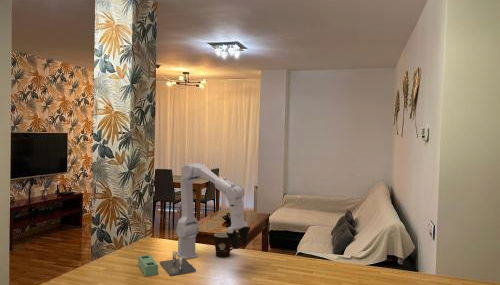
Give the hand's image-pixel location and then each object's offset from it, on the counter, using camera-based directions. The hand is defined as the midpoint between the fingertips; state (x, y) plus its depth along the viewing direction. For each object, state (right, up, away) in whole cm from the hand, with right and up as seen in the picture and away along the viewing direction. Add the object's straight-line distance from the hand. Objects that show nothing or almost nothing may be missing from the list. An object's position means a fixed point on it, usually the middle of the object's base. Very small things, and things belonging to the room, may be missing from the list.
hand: (240, 246), depth 167 cm
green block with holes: (-39, -10, -1) cm, 40 cm away
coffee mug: (-7, -10, +18) cm, 22 cm away
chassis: (-27, -10, +2) cm, 29 cm away
